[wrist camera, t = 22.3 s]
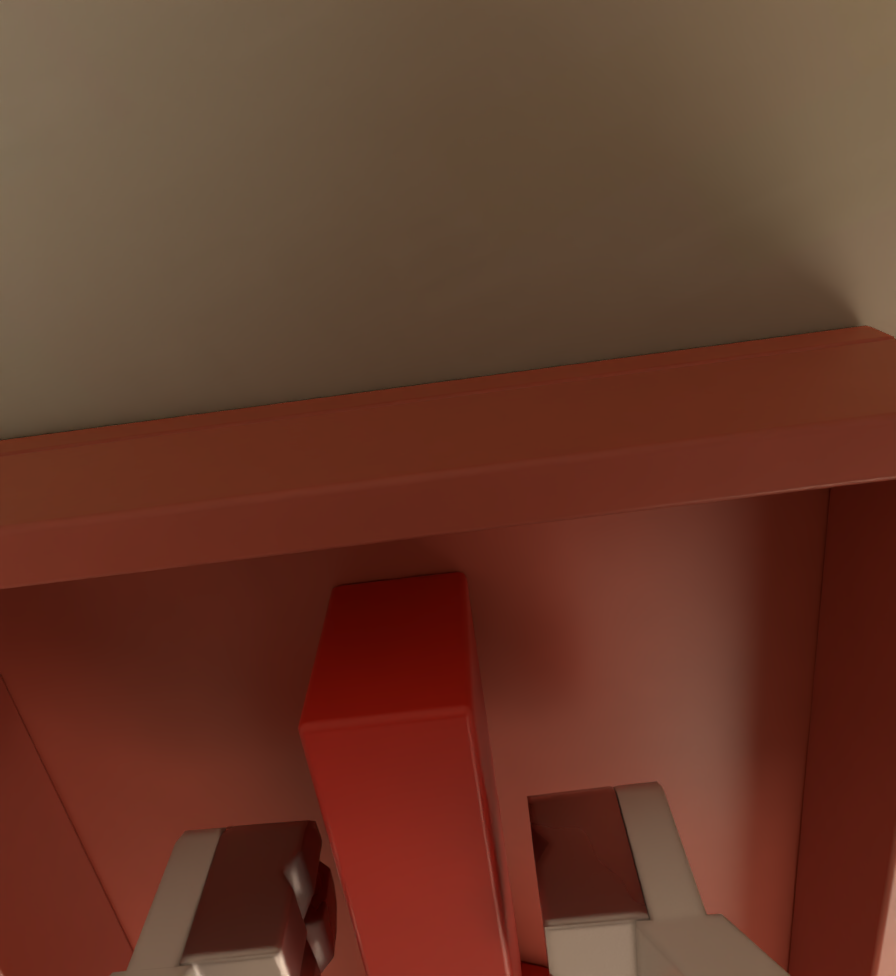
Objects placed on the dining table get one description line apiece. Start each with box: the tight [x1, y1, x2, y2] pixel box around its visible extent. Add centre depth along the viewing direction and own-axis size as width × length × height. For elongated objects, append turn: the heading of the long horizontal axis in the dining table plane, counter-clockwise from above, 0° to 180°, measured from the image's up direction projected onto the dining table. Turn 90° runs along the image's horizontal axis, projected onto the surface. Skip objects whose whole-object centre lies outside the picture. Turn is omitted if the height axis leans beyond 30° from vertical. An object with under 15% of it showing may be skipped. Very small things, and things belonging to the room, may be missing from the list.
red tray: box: [0, 326, 896, 976], centre depth 10 cm, size 15×11×3 cm
